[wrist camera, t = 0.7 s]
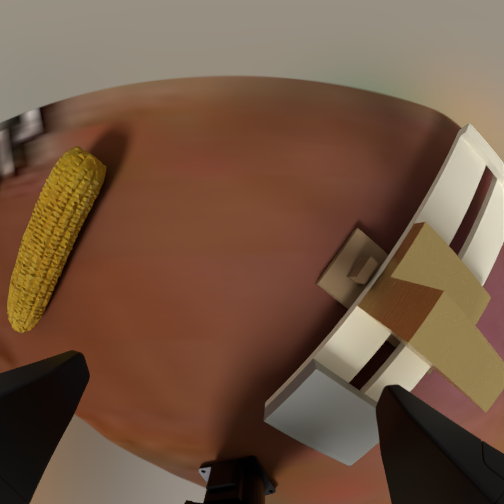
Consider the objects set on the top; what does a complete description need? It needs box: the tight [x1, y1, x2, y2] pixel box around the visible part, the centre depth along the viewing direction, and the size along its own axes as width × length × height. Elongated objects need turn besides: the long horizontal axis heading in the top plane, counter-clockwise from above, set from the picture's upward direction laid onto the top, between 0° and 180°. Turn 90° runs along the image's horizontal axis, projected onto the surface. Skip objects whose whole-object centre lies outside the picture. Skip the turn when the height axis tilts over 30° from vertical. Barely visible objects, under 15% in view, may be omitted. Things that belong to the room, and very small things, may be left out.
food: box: [7, 146, 107, 333], centre depth 22 cm, size 21×6×6 cm, turn 151°
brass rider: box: [357, 222, 504, 412], centre depth 15 cm, size 8×10×10 cm
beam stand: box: [316, 228, 433, 375], centre depth 22 cm, size 6×16×4 cm, turn 52°
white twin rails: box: [264, 123, 504, 466], centre depth 19 cm, size 32×10×3 cm, turn 142°
